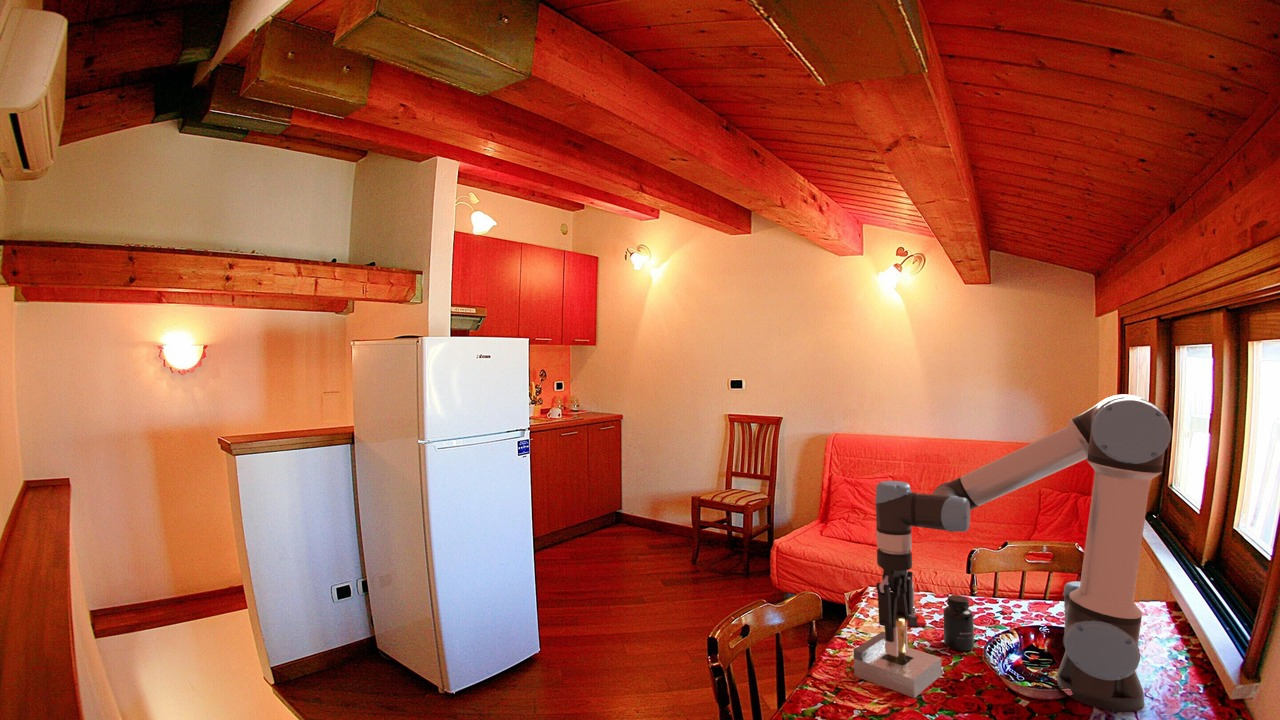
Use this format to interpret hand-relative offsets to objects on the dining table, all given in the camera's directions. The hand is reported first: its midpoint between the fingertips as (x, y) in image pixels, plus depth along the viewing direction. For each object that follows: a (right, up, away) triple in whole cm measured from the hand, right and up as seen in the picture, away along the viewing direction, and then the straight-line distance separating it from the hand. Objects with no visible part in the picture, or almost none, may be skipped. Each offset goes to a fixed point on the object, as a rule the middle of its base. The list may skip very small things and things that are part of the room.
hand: (896, 650), depth 148 cm
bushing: (0, -2, 0) cm, 2 cm away
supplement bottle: (+21, -5, +14) cm, 26 cm away
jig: (0, -6, 0) cm, 6 cm away
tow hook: (+16, -6, +30) cm, 35 cm away
